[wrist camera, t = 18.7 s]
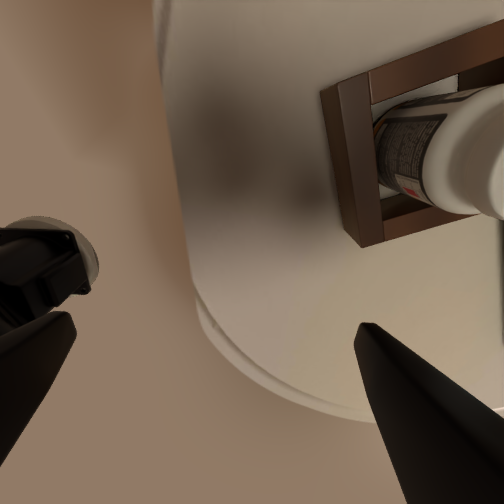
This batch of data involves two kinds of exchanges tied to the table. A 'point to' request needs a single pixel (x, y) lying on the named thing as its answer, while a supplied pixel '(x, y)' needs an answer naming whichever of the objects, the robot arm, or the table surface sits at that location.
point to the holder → (362, 137)
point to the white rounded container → (446, 150)
